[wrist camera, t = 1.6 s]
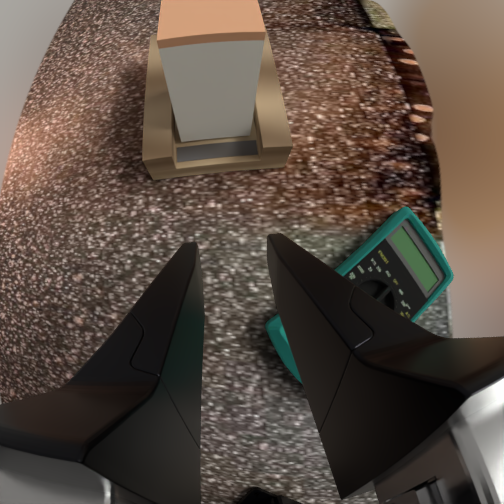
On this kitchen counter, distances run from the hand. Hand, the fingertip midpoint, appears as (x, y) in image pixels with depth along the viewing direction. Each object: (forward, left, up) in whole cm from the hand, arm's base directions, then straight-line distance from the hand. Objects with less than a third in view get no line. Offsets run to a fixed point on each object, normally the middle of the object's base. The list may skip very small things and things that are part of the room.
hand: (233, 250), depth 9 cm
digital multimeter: (+4, -9, -13) cm, 17 cm away
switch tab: (+9, +8, -11) cm, 16 cm away
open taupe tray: (+11, +10, -13) cm, 19 cm away
